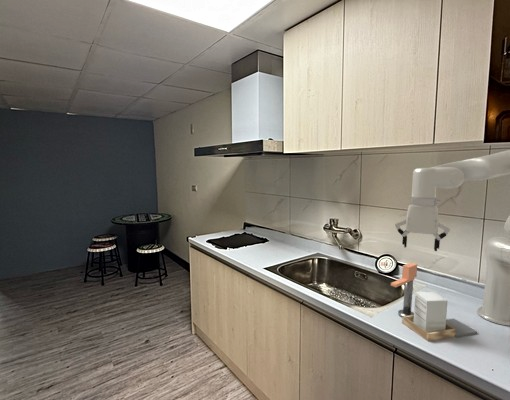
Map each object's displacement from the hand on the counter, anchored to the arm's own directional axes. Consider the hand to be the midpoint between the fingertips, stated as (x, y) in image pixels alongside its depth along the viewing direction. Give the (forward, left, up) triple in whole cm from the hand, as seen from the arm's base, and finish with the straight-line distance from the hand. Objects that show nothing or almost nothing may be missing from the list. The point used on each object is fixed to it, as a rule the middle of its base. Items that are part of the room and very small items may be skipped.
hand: (420, 248), depth 106 cm
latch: (+4, -3, -14) cm, 14 cm away
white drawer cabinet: (0, +6, -28) cm, 29 cm away
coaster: (-10, +8, -28) cm, 31 cm away
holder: (0, +6, -28) cm, 29 cm away
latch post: (0, -4, -28) cm, 28 cm away
